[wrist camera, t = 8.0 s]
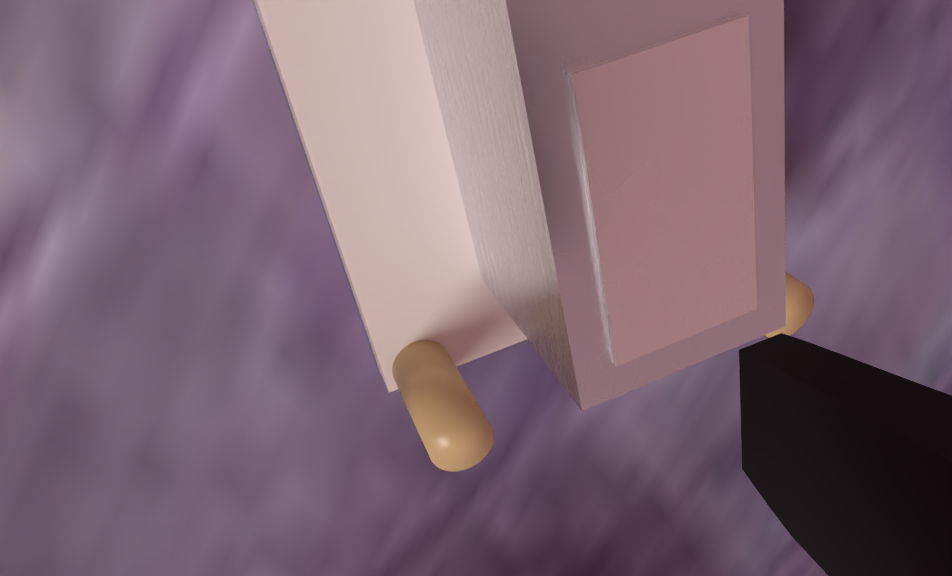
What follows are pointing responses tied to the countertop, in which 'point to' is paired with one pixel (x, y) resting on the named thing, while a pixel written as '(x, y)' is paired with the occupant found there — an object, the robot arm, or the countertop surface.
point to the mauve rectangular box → (619, 174)
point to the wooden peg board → (402, 208)
